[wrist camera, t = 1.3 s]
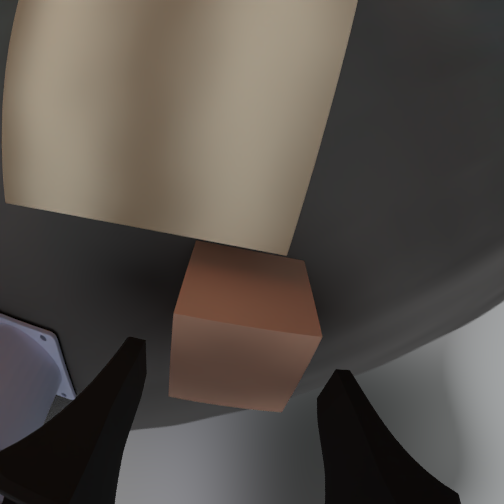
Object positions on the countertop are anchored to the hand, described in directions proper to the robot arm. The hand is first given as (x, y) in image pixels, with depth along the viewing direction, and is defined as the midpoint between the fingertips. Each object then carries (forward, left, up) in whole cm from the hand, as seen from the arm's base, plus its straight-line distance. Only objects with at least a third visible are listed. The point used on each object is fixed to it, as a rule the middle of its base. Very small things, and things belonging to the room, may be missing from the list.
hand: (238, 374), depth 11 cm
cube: (0, 0, -5) cm, 5 cm away
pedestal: (-5, +10, -6) cm, 12 cm away
